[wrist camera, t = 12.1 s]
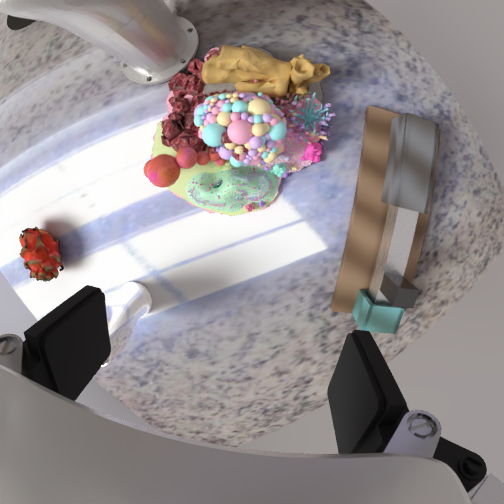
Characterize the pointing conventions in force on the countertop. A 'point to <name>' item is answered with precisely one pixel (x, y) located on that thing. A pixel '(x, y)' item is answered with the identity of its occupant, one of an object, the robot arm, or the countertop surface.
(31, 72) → the countertop surface
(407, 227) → the inner tube
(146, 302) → the beer glass
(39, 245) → the dragon fruit
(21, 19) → the plate
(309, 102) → the candy landscape model
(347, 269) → the tube rig
